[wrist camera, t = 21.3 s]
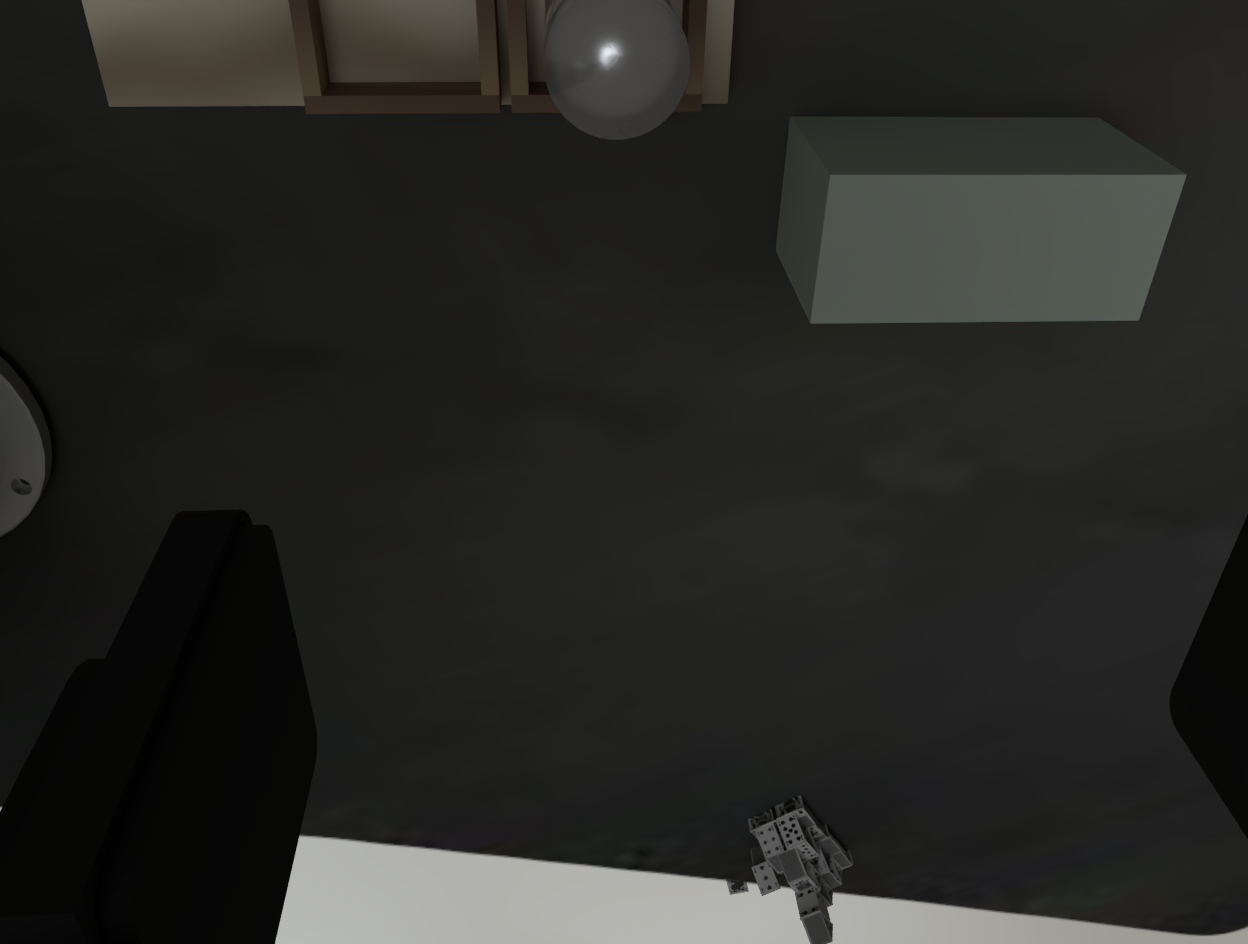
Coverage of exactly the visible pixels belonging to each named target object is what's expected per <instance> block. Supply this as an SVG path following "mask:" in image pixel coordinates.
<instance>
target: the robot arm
mask: <svg viewBox="0 0 1248 944" xmlns="http://www.w3.org/2000/svg"><path fill="white" fill-rule="evenodd" d="M52 458H53V456H52V447H51V438H50V433H49V430H48V427H47V424H46V421H45V418H44V415H43V413H42V410H41V408H40V407H39V405H38V403H37V402H36V400H35V398H34V396H33V395H32V393H31V391H30V390H29V388H28V386H27V385H26V384H25V383H24V382H23V380H22V379H21V378H20V377H19V376H18V374H17V373H16V372H15V371H14V370H13V368H12V367H11V366H10V365H9V364H8V363H7V362H6V361H5V360H4V359H3V358H1V357H0V537H1V536H3V535H4V534H6V533H8V532H10V531H11V530H13V529H14V528H15V527H16V526H17V525H18V524H20V523H21V522H22V521H23V520H24V519H25V518H26V517H27V516H28V515H29V514H30V512H31V511H32V509H33V508H34V506H35V505H36V504H37V502H38V501H39V499H40V498H41V496H42V494H43V492H44V490H45V487H46V485H47V483H48V480H49V478H50V472H51V465H52ZM1170 713H1171V717H1172V720H1173V724H1174V725H1175V727H1176V729H1177V731H1178V733H1179V734H1180V736H1181V737H1182V739H1183V740H1184V742H1185V743H1186V745H1187V747H1188V748H1189V750H1190V751H1191V753H1192V754H1193V756H1194V757H1195V759H1196V760H1197V762H1198V763H1199V765H1200V766H1201V768H1202V770H1203V771H1204V773H1205V774H1206V776H1207V777H1208V779H1209V780H1210V782H1211V783H1212V785H1213V786H1214V788H1215V789H1216V791H1217V793H1218V794H1219V796H1220V797H1221V799H1222V800H1223V802H1224V803H1225V805H1226V806H1227V808H1228V809H1229V811H1230V812H1231V814H1232V816H1233V817H1234V819H1235V820H1236V822H1237V823H1238V825H1239V826H1240V828H1241V829H1242V831H1243V832H1244V834H1245V835H1246V837H1247V839H1248V515H1247V518H1246V520H1245V522H1244V525H1243V527H1242V529H1241V531H1240V534H1239V536H1238V538H1237V541H1236V543H1235V545H1234V548H1233V550H1232V552H1231V555H1230V557H1229V559H1228V561H1227V564H1226V566H1225V568H1224V571H1223V573H1222V575H1221V578H1220V580H1219V582H1218V585H1217V587H1216V589H1215V591H1214V594H1213V596H1212V598H1211V601H1210V603H1209V605H1208V608H1207V610H1206V612H1205V615H1204V617H1203V619H1202V621H1201V624H1200V626H1199V628H1198V631H1197V633H1196V635H1195V638H1194V640H1193V642H1192V645H1191V647H1190V649H1189V651H1188V654H1187V656H1186V658H1185V661H1184V663H1183V665H1182V668H1181V670H1180V672H1179V675H1178V677H1177V679H1176V681H1175V684H1174V686H1173V688H1172V691H1171V695H1170ZM316 754H317V731H316V724H315V720H314V715H313V711H312V706H311V702H310V697H309V693H308V688H307V684H306V679H305V675H304V670H303V666H302V661H301V657H300V652H299V648H298V643H297V639H296V634H295V630H294V625H293V621H292V616H291V612H290V607H289V603H288V598H287V594H286V589H285V585H284V580H283V576H282V571H281V567H280V562H279V558H278V553H277V549H276V544H275V540H274V536H273V533H272V530H271V529H270V527H269V526H267V525H252V521H251V518H250V517H249V515H248V513H247V512H246V511H244V510H214V511H182V512H180V513H178V514H176V516H175V517H174V519H173V520H172V522H171V524H170V526H169V528H168V530H167V532H166V534H165V536H164V539H163V541H162V543H161V545H160V547H159V549H158V551H157V553H156V555H155V557H154V559H153V561H152V563H151V565H150V567H149V569H148V571H147V574H146V576H145V578H144V580H143V582H142V584H141V586H140V588H139V590H138V592H137V594H136V596H135V598H134V600H133V602H132V604H131V606H130V609H129V611H128V613H127V615H126V617H125V619H124V621H123V623H122V625H121V627H120V629H119V631H118V633H117V635H116V637H115V639H114V641H113V644H112V646H111V648H110V650H109V652H108V654H107V656H106V658H105V659H88V660H86V661H85V662H83V663H82V664H80V665H79V666H77V668H76V669H75V671H74V672H73V674H72V675H71V677H70V678H69V679H68V681H67V683H66V685H65V687H64V689H63V691H62V693H61V695H60V697H59V698H58V700H57V702H56V704H55V706H54V708H53V710H52V712H51V714H50V716H49V718H48V720H47V722H46V724H45V726H44V728H43V730H42V731H41V733H40V735H39V737H38V739H37V741H36V743H35V745H34V747H33V749H32V751H31V753H30V755H29V757H28V759H27V761H26V763H25V765H24V766H23V768H22V770H21V772H20V774H19V776H18V778H17V780H16V782H15V784H14V786H13V788H12V790H11V792H10V794H9V796H8V798H7V799H6V801H5V803H4V805H3V807H2V809H1V811H0V944H275V940H276V936H277V932H278V927H279V922H280V918H281V914H282V909H283V905H284V900H285V896H286V892H287V887H288V883H289V878H290V874H291V870H292V865H293V861H294V856H295V851H296V847H297V843H298V838H299V834H300V830H301V825H302V821H303V817H304V812H305V808H306V803H307V799H308V794H309V790H310V786H311V781H312V777H313V772H314V768H315V762H316Z"/></svg>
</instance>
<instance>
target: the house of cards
mask: <svg viewBox="0 0 1248 944" xmlns="http://www.w3.org/2000/svg"><path fill="white" fill-rule="evenodd" d="M774 807H775V810H774V809H773V808H772V807H771V809H770V810H768V811H766V812H763V813H761V814H759V815H757V816H754V817H752V818H750V819H748V824H749V829H750V833H751V832H752V833H753V834H754V835H755V837H756V838H757V839H758V840H759V843H760V845H758V846H756V847H753V848H751V849H750V851H751V856H752V862H753V867H752V870H753V873H754V876H755V878H756V881H757V884H758V886H759V889H760V892H761V894H762V896H763V895H766V894H768V893H770V892H773V891H775V890H778V889H780V886H781V878H782V874H783V873H782V872H784V874H785V877H786V879H787V882H788V884H789V885H790V887H791V888H792V889H793V890H794V891H795V892H796V893H795V895H796V900H797V904H798V909H799V914H800V919H801V921H802V922H803V925H804V928H805V930H806V933H807V936H808V938H809V941H810V943H811V944H827V943H830V942H832V931H833V927H832V926H833V924H832V923H831V922H830V918H829V914H828V910H827V907H829V906H831V905H833V904H832V896H833V889H831V888H834V887H836V886H839V885H841V884H842V882H841V879H842V870H843V869H844V868H847V867H849V866H852V863H853V861H852V857H851V854H850V850H847V851H845V850H844V849H843V848H842V847H841V846H840V844H839V843H838V842H837V841H836V840H835V838H833V836H832V835H831V834H830V833H829V832H828V828H827V824H823V825H821V824H820V822H819V821H818V820H817V819H816V818H815V817H814V815H813V814H812V813H811V811H810V810H809V809H808V807H807V806H806V805H805V804H804V803H803V801H802V797H801V795H800V796H798V797H795V798H793V799H791V800H789V801H786V802H784V803H782V804H779V805H777V806H775V805H774ZM775 811H776V812H775ZM727 885H728V889H729V893H730V895H732V894H737V893H743V892H748V891H749V890H748V886H747V883H744V882H736V881H727Z"/></svg>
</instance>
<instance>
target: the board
mask: <svg viewBox="0 0 1248 944" xmlns="http://www.w3.org/2000/svg"><path fill="white" fill-rule="evenodd" d="M734 1H735V0H669V2H670V4H671V6H672V8H673V10H674V12H675V14H676V16H677V18H678V20H679V23H680V25H681V27H682V29H683V31H684V34H685V36H686V39H687V43H688V47H689V54H690V71H689V78H688V82H687V86H686V89H685V92H684V94H683V96H682V98H681V100H680V102H679V104H678V105H677V107H676V108H675V110H674V111H673V112H702V104H728V91H729V76H730V61H731V46H732V31H733V16H734ZM82 4H83V7H84V11H85V15H86V19H87V23H88V27H89V31H90V34H91V38H92V42H93V46H94V50H95V54H96V58H97V61H98V65H99V69H100V73H101V77H102V81H103V85H104V89H105V92H106V96H107V100H108V104H109V107H138V106H305V110H306V114H417V113H500V111H501V105H512V113H560V111H559V110H558V108H557V107H556V105H555V104H554V102H553V100H552V98H551V96H550V93H549V90H548V88H547V84H546V80H545V73H544V26H545V0H82Z"/></svg>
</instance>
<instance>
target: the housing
mask: <svg viewBox="0 0 1248 944" xmlns="http://www.w3.org/2000/svg"><path fill="white" fill-rule="evenodd" d="M1186 176H1187V175H1186V174H1185V173H1183V172H1182V171H1180V170H1179V169H1177V168H1176V167H1174V166H1173V165H1171V164H1170V163H1168V162H1166V161H1165V160H1163V159H1162V158H1160V157H1159V156H1157V155H1156V154H1154V153H1153V152H1151V151H1150V150H1148V149H1146V148H1145V147H1143V146H1142V145H1140V144H1139V143H1137V142H1136V141H1134V140H1133V139H1131V138H1130V137H1128V136H1126V135H1125V134H1123V133H1122V132H1120V131H1119V130H1117V129H1116V128H1114V127H1113V126H1111V125H1110V124H1108V123H1106V122H1105V121H1103V120H1102V119H1100V118H1068V117H804V116H790V122H789V132H788V141H787V150H786V159H785V168H784V177H783V187H782V196H781V205H780V214H779V223H778V233H777V242H776V252H777V254H778V256H779V259H780V261H781V263H782V265H783V267H784V269H785V271H786V273H787V275H788V278H789V280H790V282H791V284H792V286H793V288H794V290H795V292H796V295H797V297H798V299H799V301H800V303H801V305H802V307H803V309H804V311H805V314H806V316H807V318H808V320H809V322H810V324H819V323H923V322H1028V321H1133V320H1139V318H1140V315H1141V312H1142V309H1143V306H1144V303H1145V300H1146V297H1147V294H1148V291H1149V288H1150V285H1151V282H1152V279H1153V276H1154V273H1155V270H1156V267H1157V264H1158V261H1159V258H1160V255H1161V252H1162V248H1163V245H1164V242H1165V239H1166V236H1167V233H1168V230H1169V227H1170V224H1171V221H1172V218H1173V215H1174V212H1175V209H1176V206H1177V203H1178V200H1179V197H1180V194H1181V191H1182V188H1183V185H1184V182H1185V179H1186Z"/></svg>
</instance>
